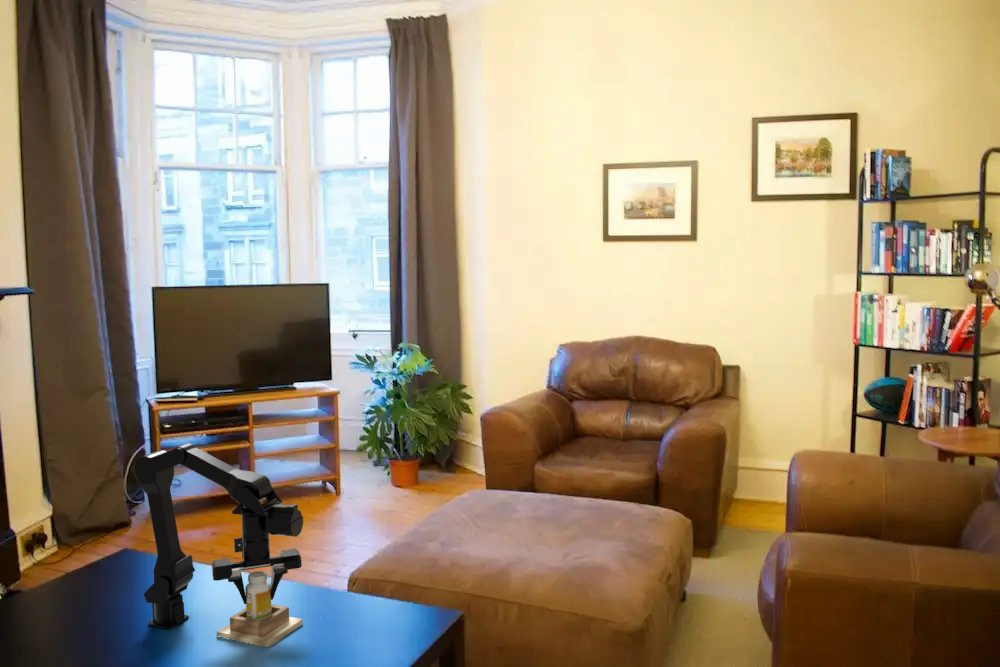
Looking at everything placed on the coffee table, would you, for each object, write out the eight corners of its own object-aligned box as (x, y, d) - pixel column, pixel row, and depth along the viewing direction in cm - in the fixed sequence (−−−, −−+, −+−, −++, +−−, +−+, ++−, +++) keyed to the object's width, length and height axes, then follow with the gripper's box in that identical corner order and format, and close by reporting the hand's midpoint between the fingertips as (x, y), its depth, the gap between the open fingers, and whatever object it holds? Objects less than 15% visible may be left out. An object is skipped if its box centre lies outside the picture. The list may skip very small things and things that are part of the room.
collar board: (216, 637, 177) (215, 618, 177) (253, 614, 188) (252, 597, 188) (268, 647, 172) (267, 628, 171) (302, 624, 183) (301, 606, 182)
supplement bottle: (275, 611, 182) (273, 569, 181) (266, 622, 177) (264, 579, 176) (252, 610, 183) (250, 569, 182) (242, 621, 177) (240, 578, 176)
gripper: (293, 517, 189) (296, 581, 190) (209, 528, 182) (212, 594, 183) (300, 531, 179) (303, 599, 180) (211, 543, 172) (215, 614, 173)
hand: (258, 601), depth 179 cm, fingers closed on supplement bottle, 5 cm apart
